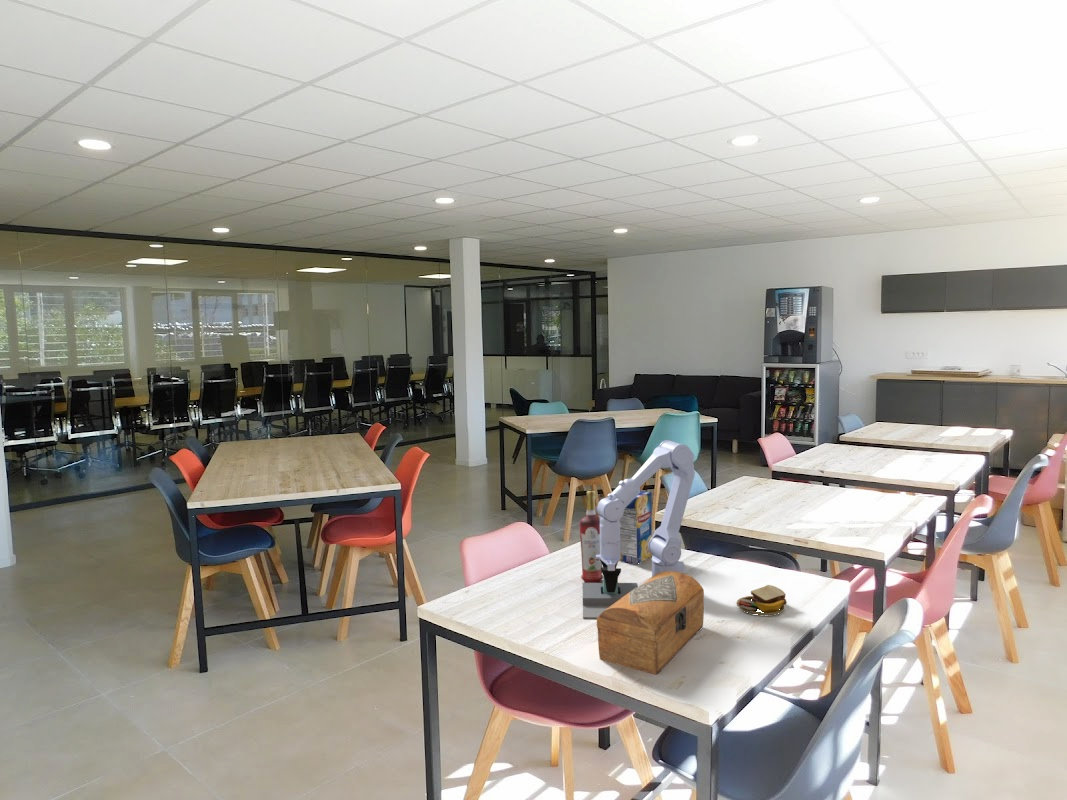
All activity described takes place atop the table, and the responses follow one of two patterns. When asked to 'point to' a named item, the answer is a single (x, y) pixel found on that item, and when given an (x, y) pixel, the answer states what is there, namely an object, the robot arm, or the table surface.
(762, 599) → the toy sandwich meal
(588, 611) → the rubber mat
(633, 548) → the beverage box
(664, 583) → the wooden box
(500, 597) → the table surface
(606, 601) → the pocket board
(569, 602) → the table surface
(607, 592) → the teal block
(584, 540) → the liquor
